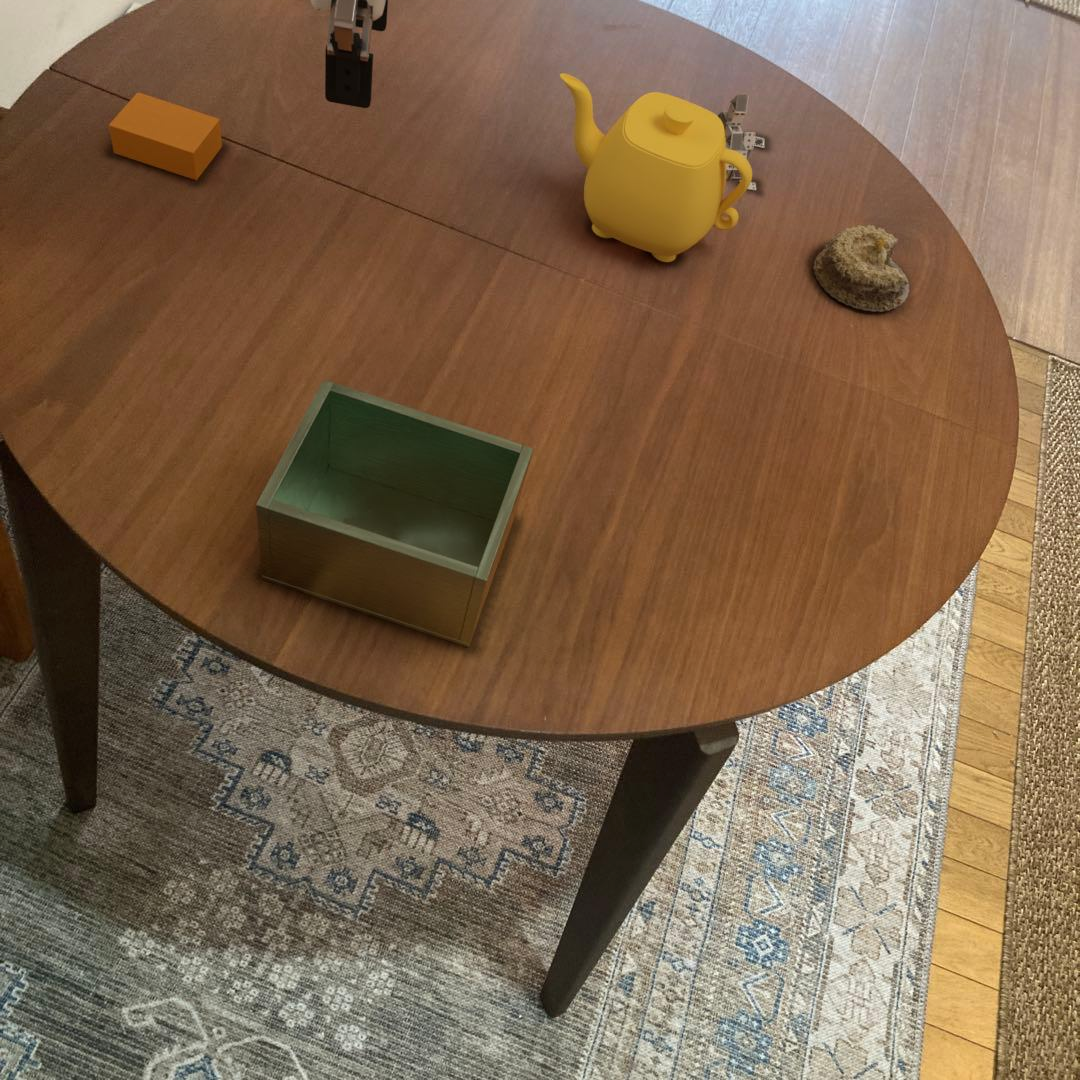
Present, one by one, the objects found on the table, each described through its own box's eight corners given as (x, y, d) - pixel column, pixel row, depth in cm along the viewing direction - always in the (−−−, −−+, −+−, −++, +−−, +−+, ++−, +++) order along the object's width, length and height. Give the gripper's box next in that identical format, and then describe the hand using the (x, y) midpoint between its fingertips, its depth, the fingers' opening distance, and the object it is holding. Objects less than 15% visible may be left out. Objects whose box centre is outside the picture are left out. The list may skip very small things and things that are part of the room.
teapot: (706, 297, 99) (752, 188, 88) (513, 219, 100) (536, 103, 89) (739, 214, 107) (786, 105, 96) (560, 143, 108) (587, 27, 97)
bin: (261, 579, 74) (255, 504, 66) (322, 459, 81) (323, 378, 73) (468, 647, 74) (486, 580, 66) (512, 522, 81) (534, 448, 73)
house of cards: (790, 190, 110) (819, 128, 104) (715, 191, 108) (740, 127, 102) (762, 136, 115) (788, 73, 109) (690, 135, 113) (712, 71, 106)
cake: (823, 316, 101) (842, 274, 97) (801, 246, 107) (817, 203, 102) (920, 317, 103) (942, 275, 98) (893, 248, 108) (913, 206, 104)
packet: (113, 153, 95) (108, 124, 93) (142, 120, 98) (137, 91, 96) (196, 180, 95) (193, 153, 93) (222, 146, 98) (220, 118, 96)
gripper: (324, -266, 67) (323, -10, 82) (278, -140, 58) (286, 125, 72) (439, -240, 68) (418, 9, 83) (413, -112, 59) (394, 144, 73)
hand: (356, 63), depth 77 cm, fingers open, 9 cm apart
